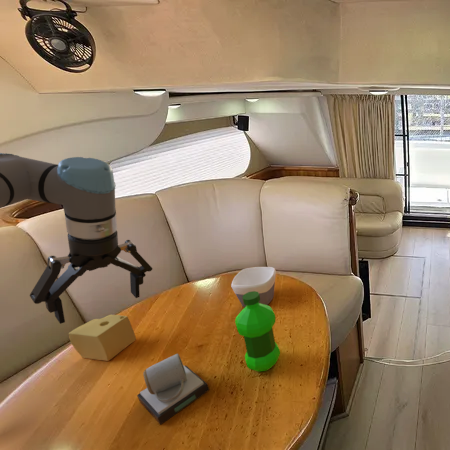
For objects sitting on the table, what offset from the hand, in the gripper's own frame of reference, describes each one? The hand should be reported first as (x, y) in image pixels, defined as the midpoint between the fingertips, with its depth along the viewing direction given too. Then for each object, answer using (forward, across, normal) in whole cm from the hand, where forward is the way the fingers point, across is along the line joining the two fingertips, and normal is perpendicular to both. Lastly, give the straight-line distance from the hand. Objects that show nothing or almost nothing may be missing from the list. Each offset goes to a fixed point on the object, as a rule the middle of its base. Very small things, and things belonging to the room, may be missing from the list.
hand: (100, 306), depth 74 cm
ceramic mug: (+22, +8, -16) cm, 28 cm away
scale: (+24, +8, -17) cm, 31 cm away
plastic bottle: (+19, +28, -28) cm, 44 cm away
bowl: (+27, +49, +2) cm, 56 cm away
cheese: (+37, +7, +18) cm, 41 cm away
